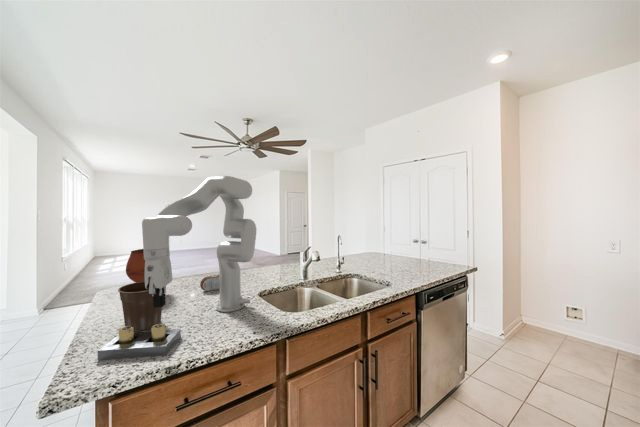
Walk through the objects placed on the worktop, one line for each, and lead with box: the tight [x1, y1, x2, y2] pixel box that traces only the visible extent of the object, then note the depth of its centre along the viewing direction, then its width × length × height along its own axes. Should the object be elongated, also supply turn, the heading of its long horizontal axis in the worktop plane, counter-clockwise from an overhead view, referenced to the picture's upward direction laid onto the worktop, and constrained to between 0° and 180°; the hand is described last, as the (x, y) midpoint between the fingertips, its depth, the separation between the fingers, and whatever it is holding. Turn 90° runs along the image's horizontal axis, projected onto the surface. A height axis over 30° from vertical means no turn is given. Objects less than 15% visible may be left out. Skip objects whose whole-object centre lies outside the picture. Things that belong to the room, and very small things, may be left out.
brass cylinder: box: [151, 323, 166, 342], centre depth 91 cm, size 4×4×7 cm
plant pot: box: [117, 281, 163, 332], centre depth 107 cm, size 16×16×16 cm
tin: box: [199, 274, 220, 292], centre depth 154 cm, size 15×3×8 cm, turn 130°
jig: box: [97, 325, 182, 361], centre depth 90 cm, size 20×12×7 cm, turn 97°
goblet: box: [125, 248, 145, 283], centre depth 147 cm, size 19×19×25 cm
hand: (159, 306), depth 91 cm, fingers closed
